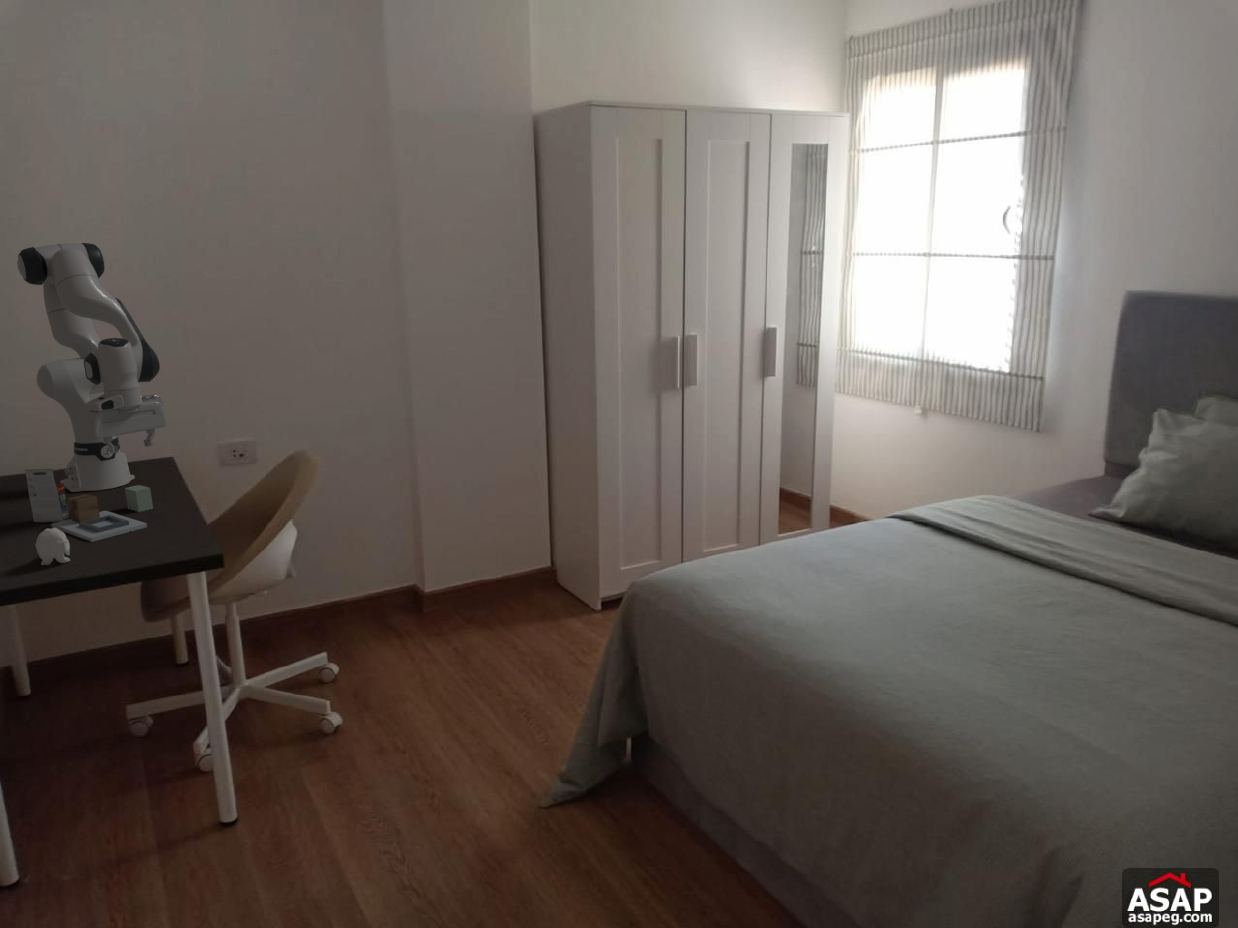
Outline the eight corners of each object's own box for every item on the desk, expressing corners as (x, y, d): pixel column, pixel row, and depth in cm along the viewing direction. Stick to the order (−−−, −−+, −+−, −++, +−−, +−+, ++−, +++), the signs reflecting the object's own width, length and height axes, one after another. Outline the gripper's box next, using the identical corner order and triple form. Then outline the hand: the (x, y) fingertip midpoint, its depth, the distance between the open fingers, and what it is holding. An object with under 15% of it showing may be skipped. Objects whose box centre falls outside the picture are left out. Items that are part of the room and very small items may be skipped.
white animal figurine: (31, 532, 218) (41, 523, 229) (37, 569, 220) (47, 558, 231) (63, 528, 221) (71, 519, 232) (68, 565, 222) (77, 554, 233)
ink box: (41, 518, 261) (32, 466, 257) (70, 518, 260) (61, 465, 257) (33, 522, 257) (23, 469, 253) (62, 522, 257) (53, 468, 253)
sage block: (128, 509, 268) (124, 488, 266) (142, 505, 271) (139, 484, 269) (138, 512, 264) (135, 491, 263) (153, 508, 267) (150, 487, 266)
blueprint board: (51, 527, 252) (47, 501, 251) (106, 514, 263) (102, 489, 261) (91, 541, 239) (87, 514, 238) (147, 527, 250) (143, 501, 248)
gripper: (155, 392, 270) (162, 441, 273) (79, 404, 254) (88, 455, 257) (166, 394, 266) (174, 443, 269) (90, 406, 250) (99, 458, 253)
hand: (131, 449), depth 263 cm, fingers open, 8 cm apart
